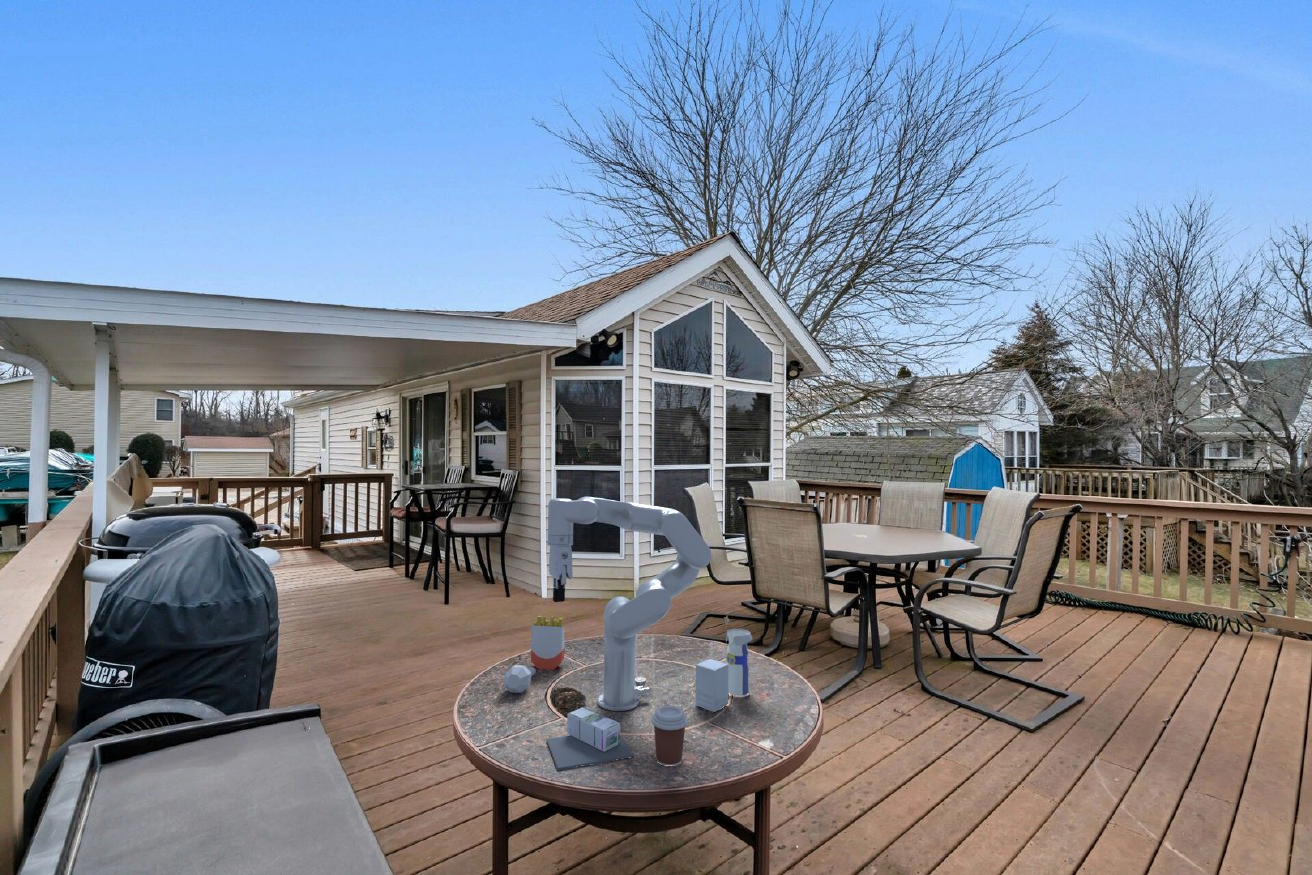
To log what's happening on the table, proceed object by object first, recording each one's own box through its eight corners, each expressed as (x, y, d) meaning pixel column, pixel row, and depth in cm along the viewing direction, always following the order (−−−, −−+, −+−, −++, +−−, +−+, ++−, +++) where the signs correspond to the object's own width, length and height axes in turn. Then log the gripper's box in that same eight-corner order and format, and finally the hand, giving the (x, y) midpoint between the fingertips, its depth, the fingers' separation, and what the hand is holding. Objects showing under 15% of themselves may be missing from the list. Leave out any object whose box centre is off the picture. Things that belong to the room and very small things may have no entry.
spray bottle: (739, 701, 184) (740, 619, 185) (718, 692, 191) (720, 613, 191) (756, 694, 190) (757, 615, 190) (735, 685, 196) (737, 609, 197)
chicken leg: (545, 679, 201) (537, 655, 203) (530, 689, 183) (521, 662, 185) (522, 688, 201) (514, 664, 203) (505, 700, 183) (496, 673, 185)
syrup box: (566, 734, 160) (604, 753, 150) (566, 712, 160) (605, 730, 150) (582, 726, 164) (620, 745, 155) (582, 705, 164) (621, 722, 155)
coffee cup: (658, 747, 155) (659, 701, 155) (692, 755, 151) (693, 707, 151) (644, 764, 146) (645, 715, 146) (679, 773, 143) (680, 722, 143)
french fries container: (534, 663, 213) (535, 612, 213) (564, 665, 212) (565, 614, 212) (530, 668, 208) (531, 616, 209) (561, 670, 207) (562, 617, 208)
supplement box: (729, 706, 181) (729, 664, 181) (714, 713, 175) (714, 670, 176) (709, 698, 186) (710, 658, 186) (694, 706, 180) (695, 663, 181)
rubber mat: (615, 730, 164) (616, 728, 164) (633, 757, 150) (633, 755, 150) (546, 741, 157) (546, 738, 157) (557, 770, 143) (558, 767, 143)
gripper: (579, 543, 174) (578, 606, 174) (565, 535, 188) (563, 594, 188) (554, 544, 171) (553, 608, 171) (541, 536, 185) (540, 596, 184)
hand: (558, 601), depth 179 cm, fingers closed
